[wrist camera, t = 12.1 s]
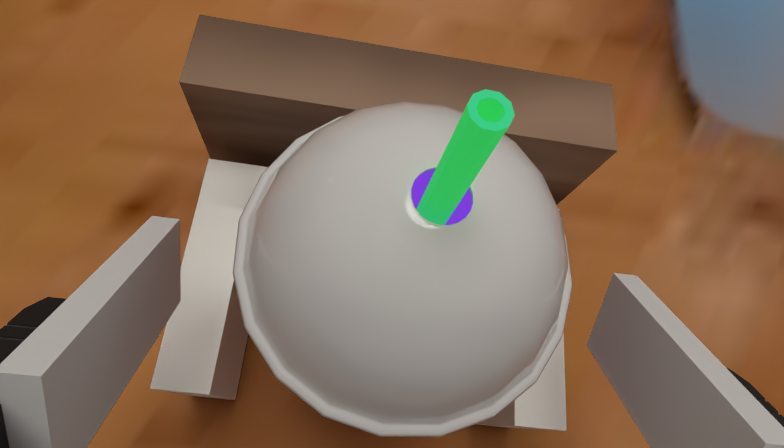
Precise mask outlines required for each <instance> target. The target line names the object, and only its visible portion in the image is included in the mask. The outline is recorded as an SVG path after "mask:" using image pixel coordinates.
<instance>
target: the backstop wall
mask: <svg viewBox="0 0 784 448" xmlns="http://www.w3.org/2000/svg"><path fill="white" fill-rule="evenodd" d="M179 82H180V85H181V87H182V90H183V92H184V95H185V97H186V99H187V102H188V104H189V107H190V109H191V112H192V114H193V116H194V119H195V121H196V124H197V126H198V129H199V131H200V133H201V136H202V138H203V141H204V143H205V146H206V148H207V150H208V153H209V155H210V158H211V159H215V160H222V161H229V162H236V163H243V164H250V165H257V166H264V167H269V166H270V165H271V164H272V163H273V162H274V161H275V160H276V159H277V158H278V157H279V156H280V155H281V154H282V153H283V152H284V151H285V150H286V149H287V148H288V147H289V146H290V145H291V144H292V143H293V142H294V141H295V139H297V138H299V137H301V136H303V135H305V134H307V133H309V132H311V131H313V130H315V129H316V128H318V127H320V126H322V125H324V124H326V123H328V122H330V121H332V120H334V119H336V118H338V117H341V116H345V115H347V114H349V113H351V112H353V111H355V110H359V109H364V108H369V107H374V106H379V105H384V104H389V103H394V102H414V103H425V104H437V105H445V106H448V107H451V108H453V109H456V110H459V111H462V112H464V110H465V108H466V106H467V104H468V102H469V100H470V98H471V97H472V95H473V94H474V93H476V92H479V91H482V90H485V89H487V90H492V91H496V92H500V93H501V94H503V95H504V96H505V97H506V98H507V99H508V100H509V101H510V102H511V103H512V107H513V111H514V114H515V116H514V118H513V120H512V122H511V124H510V126H509V128H508V129H507V131H506V132H505V134H504V135H506V136H507V137H509V138H510V139H512V140H513V141H514V142H516V143H517V145H518V146H519V147H520V148H521V149H522V151H523V152H524V153H525V154H526V155H527V157H528V158H529V159H530V160H531V161H532V162H533V164H534V165H535V166H536V167H537V168H538V170H539V171H540V172H541V173H542V175H543V176H544V178H545V180H546V182H547V185H548V187H549V189H550V191H551V194H552V196H553V198H554V200H555V203H556V205H557V204H558V203H559V202H560V201H562V200H563V199H564V198H565V197H566V196H567V195H568V194H569V193H571V192H572V191H573V190H574V189H575V188H576V187H577V186H578V185H580V184H581V183H582V182H583V181H584V180H585V179H586V178H587V177H589V176H590V175H591V174H592V173H593V172H594V171H595V170H596V169H598V168H599V167H600V166H601V165H602V164H603V163H604V162H605V161H607V160H608V159H609V158H610V157H611V156H612V155H613V154H614V153H616V152H617V151H618V150H617V138H616V126H615V114H614V102H613V90H612V85H611V84H605V83H599V82H593V81H587V80H581V79H575V78H570V77H564V76H558V75H552V74H546V73H540V72H534V71H528V70H522V69H517V68H511V67H505V66H499V65H493V64H487V63H481V62H475V61H469V60H464V59H458V58H452V57H446V56H440V55H434V54H428V53H422V52H416V51H410V50H405V49H399V48H393V47H387V46H381V45H375V44H369V43H363V42H357V41H352V40H346V39H340V38H334V37H328V36H322V35H316V34H310V33H304V32H299V31H293V30H287V29H281V28H275V27H269V26H263V25H257V24H251V23H246V22H240V21H234V20H228V19H222V18H216V17H210V16H204V15H199V18H198V21H197V24H196V28H195V31H194V34H193V38H192V41H191V45H190V48H189V51H188V55H187V58H186V61H185V65H184V68H183V71H182V75H181V78H180V81H179Z"/></svg>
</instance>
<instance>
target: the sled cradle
mask: <svg viewBox="0 0 784 448" xmlns="http://www.w3.org/2000/svg"><path fill="white" fill-rule="evenodd" d="M267 168H268V167H264V166H257V165H250V164H243V163H236V162H229V161H222V160H215V159H209V160H208V164H207V168H206V172H205V175H204V179H203V183H202V187H201V191H200V195H199V199H198V203H197V207H196V211H195V215H194V218H193V222H192V226H191V230H190V234H189V238H188V242H187V246H186V250H185V254H184V258H183V261H182V265H181V269H180V280H181V301H180V303H179V304H178V306H177V308H176V309H175V311H174V312H173V314H172V315H171V317H170V319H169V320H168V322H167V324H166V328H165V332H164V336H163V340H162V344H161V347H160V351H159V355H158V359H157V363H156V367H155V371H154V375H153V379H152V383H151V387H150V389H155V390H161V391H167V392H172V393H178V394H184V395H190V396H199V397H209V398H219V399H229V400H235V399H236V394H237V389H238V384H239V379H240V374H241V369H242V363H243V358H244V353H245V348H246V343H247V338H248V333H247V331H246V330H245V328H244V324H243V319H242V314H241V310H240V305H239V300H238V296H237V291H236V287H235V282H234V277H233V265H234V256H235V248H236V239H237V231H238V222H239V218H240V216H241V214H242V212H243V210H244V208H245V206H246V204H247V202H248V200H249V198H250V196H251V194H252V192H253V190H254V188H255V186H256V184H257V182H258V180H259V178H260V176H261V174H262V173H263V172H264V171H265V170H266V169H267ZM477 425H487V426H497V427H507V428H523V429H542V430H560V431H567V428H566V397H565V367H564V336H562V338H561V340H560V342H559V343H558V345H557V347H556V349H555V350H554V352H553V354H552V356H551V357H550V359H549V361H548V363H547V364H546V366H545V368H544V370H543V371H542V373H541V375H540V377H539V378H538V380H537V382H536V383H535V384H534V385H532V386H531V387H530V388H529V389H528V390H526V391H525V392H524V393H523V394H522V395H520V396H519V397H518V398H517V399H516V400H514V401H513V402H512V403H511V404H510V405H508V406H507V407H506V408H505V409H504V410H502V411H501V412H500V413H499V414H498V415H496V416H495V417H494V418H491V419H488V420H486V421H483V422H480V423H477Z"/></svg>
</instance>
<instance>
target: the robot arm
mask: <svg viewBox="0 0 784 448" xmlns="http://www.w3.org/2000/svg"><path fill="white" fill-rule="evenodd" d="M180 301H181V280H180V219H173V218H165V217H157V216H151V217H150V218H149V219H148V220H147V221H146V222H145V223H144V224H143V225H142V226H141V227H140V228H139V229H138V230H137V231H136V232H135V233H134V234H133V235H132V236H131V237H130V238H129V239H128V240H127V241H126V242H125V243H124V244H123V245H122V246H121V247H120V248H119V249H118V250H117V251H116V252H115V253H113V254H112V255H111V256H110V257H109V258H108V259H107V260H106V261H105V262H104V263H103V264H102V265H101V266H100V267H99V268H98V269H97V270H96V271H95V272H94V273H93V274H92V275H91V276H90V277H89V278H88V279H87V280H86V281H85V282H84V283H83V284H82V285H81V286H80V287H79V288H78V289H77V290H75V291H74V292H73V293H72V294H71V295H70V296H69V297H68V298H67V299H62V298H52V297H47V298H45V299H43V300H41V301H39V302H37V303H35V304H32V305H30V306H28V307H26V308H24V309H23V310H22V311H21V312H20V313H18V314H17V315H16V316H15V317H14V318H13V319H12V320H11V321H9V322H8V324H7V326H4V327H3V328H1V329H0V448H87V447H88V445H89V444H90V442H91V441H92V439H93V437H94V436H95V434H96V433H97V431H98V430H99V428H100V427H101V425H102V423H103V422H104V420H105V419H106V417H107V416H108V414H109V412H110V411H111V409H112V408H113V406H114V405H115V403H116V401H117V400H118V398H119V397H120V395H121V394H122V392H123V391H124V389H125V387H126V386H127V384H128V383H129V381H130V380H131V378H132V376H133V375H134V373H135V372H136V370H137V369H138V367H139V366H140V364H141V362H142V361H143V359H144V358H145V356H146V355H147V353H148V351H149V350H150V348H151V347H152V345H153V344H154V342H155V340H156V339H157V337H158V336H159V334H160V333H161V331H162V330H163V328H164V326H165V325H166V323H167V322H168V320H169V319H170V317H171V315H172V314H173V312H174V311H175V309H176V308H177V306H178V304H179V303H180ZM587 346H588V348H589V350H590V351H591V353H592V354H593V356H594V358H595V359H596V361H597V362H598V364H599V366H600V367H601V369H602V370H603V372H604V374H605V375H606V377H607V378H608V380H609V382H610V383H611V385H612V386H613V388H614V389H615V391H616V393H617V394H618V396H619V397H620V399H621V401H622V402H623V404H624V405H625V407H626V409H627V410H628V412H629V413H630V415H631V417H632V418H633V420H634V421H635V423H636V425H637V426H638V428H639V429H640V431H641V433H642V434H643V436H644V437H645V439H646V441H647V442H648V444H649V445H650V447H651V448H784V417H783V416H782V415H778V411H777V410H776V409H775V408H774V407H773V406H772V405H771V404H770V403H769V402H765V398H764V397H763V396H762V395H761V394H760V393H759V392H758V391H757V390H756V389H755V388H754V387H753V386H752V385H751V384H750V383H749V382H747V381H746V380H744V379H743V378H742V377H740V376H739V375H737V374H736V373H734V372H733V371H731V370H730V369H729V368H726V367H725V366H724V365H723V364H722V363H721V362H720V361H719V360H718V359H717V358H716V357H715V356H714V355H713V354H712V353H711V352H710V351H709V350H708V349H707V348H706V347H705V346H704V345H703V344H702V343H701V341H700V340H699V339H698V338H697V337H696V336H695V335H694V334H693V333H692V332H691V331H690V330H689V329H688V328H687V327H686V326H685V325H684V324H683V323H682V322H681V321H680V320H679V319H678V318H677V317H676V316H675V315H674V314H673V313H672V312H671V310H670V309H669V308H668V307H667V306H666V305H665V304H664V303H663V302H662V301H661V300H660V299H659V298H658V297H657V296H656V295H655V294H654V293H653V292H652V291H651V290H650V289H649V288H648V287H647V286H646V285H645V284H644V283H643V282H642V281H641V280H640V278H639V277H638V276H634V275H626V274H618V273H614V274H613V276H612V279H611V282H610V284H609V287H608V290H607V292H606V295H605V298H604V300H603V303H602V306H601V308H600V311H599V314H598V316H597V319H596V322H595V324H594V327H593V330H592V332H591V335H590V338H589V340H588V343H587Z"/></svg>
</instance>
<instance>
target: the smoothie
mask: <svg viewBox="0 0 784 448" xmlns="http://www.w3.org/2000/svg"><path fill="white" fill-rule="evenodd" d="M514 116H515V114H514V111H513V107H512V103H511V102H510V101H509V100H508V99H507V98H506V97H505V96H504V95H503V94H501V93H500V92H496V91H492V90H487V89H485V90H482V91H479V92H476V93H474V94H473V95H472V97H471V98H470V100H469V102H468V104H467V106H466V108H465V110H464V112H462V111H459V110H456V109H453V108H451V107H448V106H445V105H437V104H425V103H414V102H394V103H389V104H384V105H379V106H374V107H369V108H364V109H359V110H355V111H353V112H351V113H349V114H347V115H345V116H341V117H338V118H336V119H334V120H332V121H330V122H328V123H326V124H324V125H322V126H320V127H318V128H316V129H315V130H313V131H311V132H309V133H307V134H305V135H303V136H301V137H299V138H297V139H295V141H294V142H293V143H292V144H291V145H290V146H289V147H288V148H287V149H286V150H285V151H284V152H283V153H282V154H281V155H280V156H279V157H278V158H277V159H276V160H275V161H274V162H273V163H272V164H271V165H270V166H269V167H268V168H267V169H266V170H265V171H264V172H263V173H262V174H261V176H260V178H259V180H258V182H257V184H256V186H255V188H254V190H253V192H252V194H251V196H250V198H249V200H248V202H247V204H246V206H245V208H244V210H243V212H242V214H241V216H240V218H239V222H238V231H237V239H236V248H235V256H234V265H233V277H234V282H235V287H236V291H237V296H238V300H239V305H240V310H241V314H242V319H243V324H244V328H245V330H246V331H247V333H248V334H249V336H250V338H251V339H252V341H253V342H254V344H255V346H256V347H257V349H258V350H259V352H260V354H261V355H262V357H263V358H264V360H265V362H266V363H267V365H268V366H269V368H270V370H271V371H272V373H273V374H274V376H275V378H276V379H278V380H279V381H280V382H281V383H282V384H284V385H285V386H286V387H287V388H289V389H290V390H291V391H292V392H294V393H295V394H296V395H297V396H298V397H300V398H301V399H302V400H303V401H305V402H306V403H307V404H308V405H309V406H311V407H312V408H313V409H314V410H316V411H317V412H318V413H319V414H320V415H322V416H323V417H326V418H329V419H331V420H334V421H337V422H340V423H343V424H346V425H348V426H351V427H354V428H357V429H360V430H363V431H365V432H368V433H371V434H374V435H377V436H380V437H442V436H445V435H447V434H450V433H453V432H456V431H458V430H461V429H464V428H466V427H469V426H472V425H475V424H477V423H480V422H483V421H486V420H488V419H491V418H494V417H495V416H496V415H498V414H499V413H500V412H501V411H502V410H504V409H505V408H506V407H507V406H508V405H510V404H511V403H512V402H513V401H514V400H516V399H517V398H518V397H519V396H520V395H522V394H523V393H524V392H525V391H526V390H528V389H529V388H530V387H531V386H532V385H534V384H535V383H536V382H537V380H538V378H539V377H540V375H541V373H542V371H543V370H544V368H545V366H546V364H547V363H548V361H549V359H550V357H551V356H552V354H553V352H554V350H555V349H556V347H557V345H558V343H559V342H560V340H561V338H562V336H563V331H564V326H565V321H566V316H567V311H568V306H569V300H570V295H571V290H572V281H571V273H570V266H569V258H568V250H567V242H566V236H565V233H564V225H563V219H562V216H561V214H560V212H559V209H558V207H557V205H556V203H555V200H554V198H553V196H552V194H551V191H550V189H549V187H548V185H547V182H546V180H545V178H544V176H543V175H542V173H541V172H540V171H539V170H538V168H537V167H536V166H535V165H534V164H533V162H532V161H531V160H530V159H529V158H528V157H527V155H526V154H525V153H524V152H523V151H522V149H521V148H520V147H519V146H518V145H517V143H516V142H514V141H513V140H512V139H510V138H509V137H507V136H506V135H504V134H505V132H506V131H507V129H508V128H509V126H510V124H511V122H512V120H513V118H514Z"/></svg>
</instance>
